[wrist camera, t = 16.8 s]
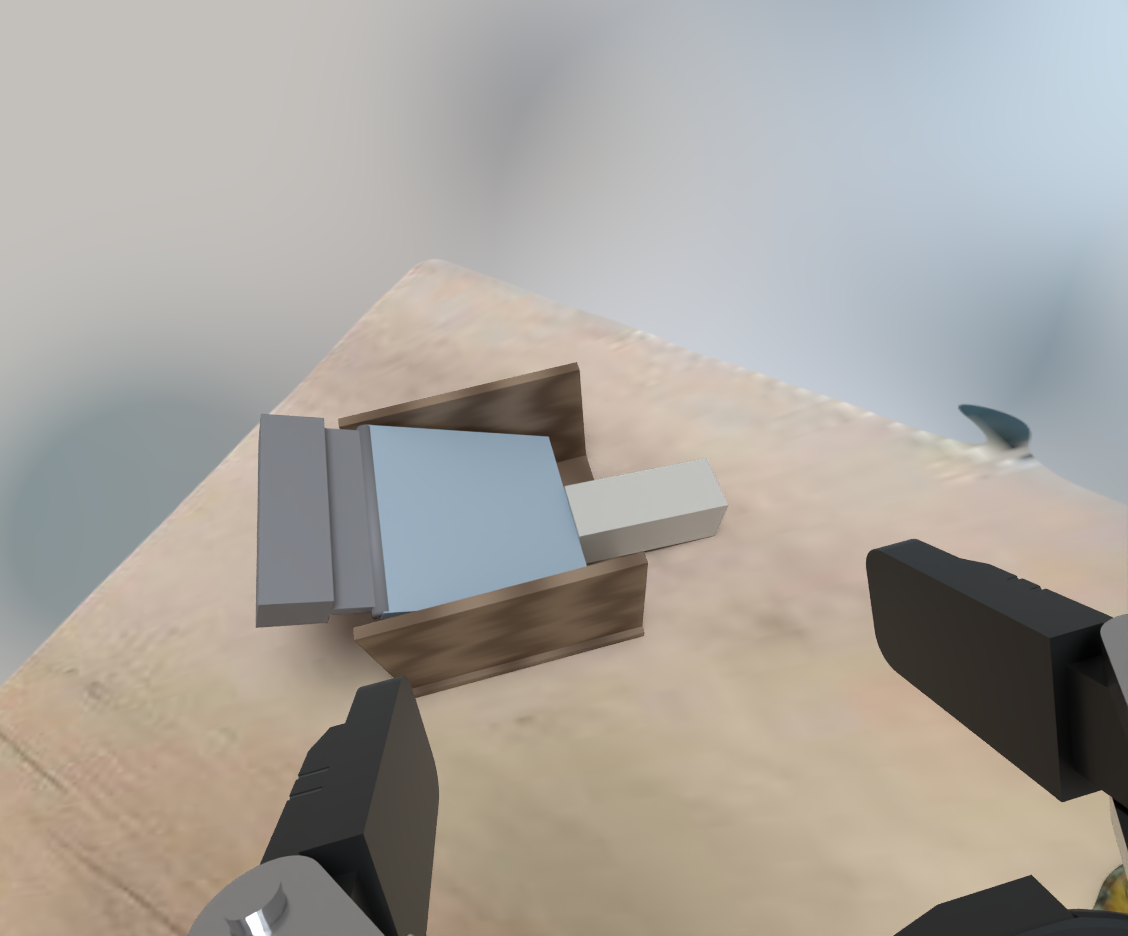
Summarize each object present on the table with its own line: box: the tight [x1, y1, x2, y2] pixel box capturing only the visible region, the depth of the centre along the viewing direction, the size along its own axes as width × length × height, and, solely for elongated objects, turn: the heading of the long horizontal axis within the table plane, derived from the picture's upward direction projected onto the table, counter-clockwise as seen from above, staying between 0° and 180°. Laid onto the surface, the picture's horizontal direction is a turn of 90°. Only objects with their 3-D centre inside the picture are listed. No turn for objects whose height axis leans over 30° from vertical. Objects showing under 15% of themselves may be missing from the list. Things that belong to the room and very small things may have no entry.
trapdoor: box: [256, 414, 587, 628], centre depth 46 cm, size 22×15×3 cm
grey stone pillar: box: [564, 458, 728, 564], centre depth 53 cm, size 5×5×12 cm
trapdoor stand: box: [338, 362, 648, 698], centre depth 49 cm, size 18×18×12 cm
